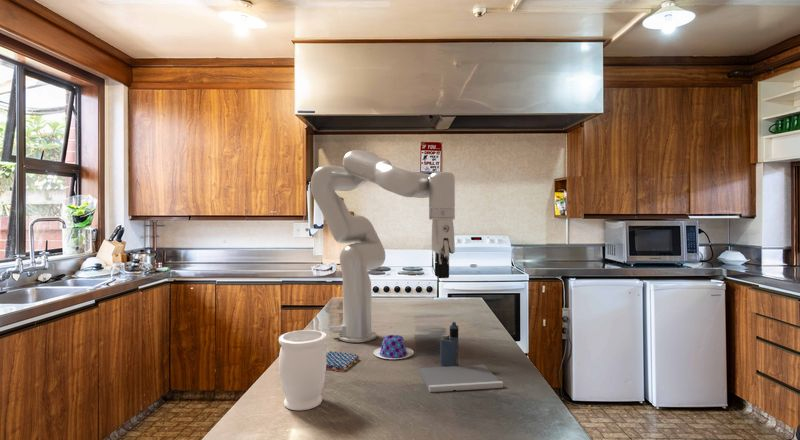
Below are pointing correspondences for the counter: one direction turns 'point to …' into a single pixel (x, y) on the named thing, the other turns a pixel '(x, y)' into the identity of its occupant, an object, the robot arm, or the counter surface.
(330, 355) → the woven mat
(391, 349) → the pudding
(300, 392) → the jar
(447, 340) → the vaping device
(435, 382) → the grey flat slab
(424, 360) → the counter surface
